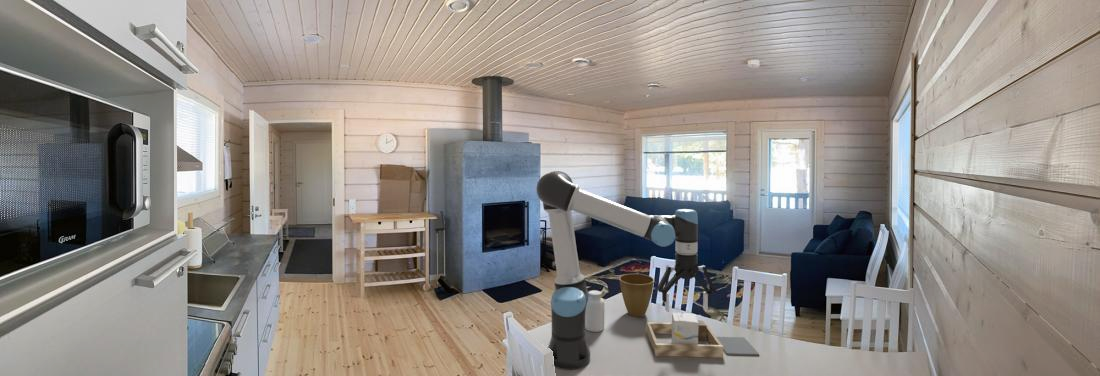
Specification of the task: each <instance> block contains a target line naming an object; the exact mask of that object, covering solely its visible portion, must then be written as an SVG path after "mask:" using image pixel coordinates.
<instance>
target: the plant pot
mask: <svg viewBox="0 0 1100 376" xmlns="http://www.w3.org/2000/svg"><path fill="white" fill-rule="evenodd" d="M654 283H655V278H653V277H652V276H650V275H647V274H643V273H627V274H626V273H625V274H622V275H620V276H619V285H620V291H621V296H622V299H623V302H624V306H625V308H626V309H625V310H626V311H627V314H628V315H629V316H632V317H634V318H640V317H641V318H642V317H644V316H645V315H646V313H647V310H648V307H649V304H650V301H651V298H652V294H653V289H654Z"/></svg>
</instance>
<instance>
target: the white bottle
mask: <svg viewBox="0 0 1100 376" xmlns="http://www.w3.org/2000/svg"><path fill="white" fill-rule="evenodd" d="M588 293H589V298H588V302H587V307H586V313H585V331H588V332H592V333H593V332H594V333H598V332H602V331H603V330H605V300H604V299H603V298H602V295H603V294H602V291H599V290H594V289H593V290H588Z"/></svg>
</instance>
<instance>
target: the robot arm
mask: <svg viewBox="0 0 1100 376" xmlns="http://www.w3.org/2000/svg"><path fill="white" fill-rule="evenodd" d="M535 190H536V195H537V197H538V198H539V200H540V201H541V203H542V205H543V210H544V211H545V212H546V213H548V219H549V227H550V232H551V233H550V234H551V240H552V248H553V253H554V260H555V267H556V268H555V269H556V277H555V278H554V282H553V283H554V288H555V291H553V293H552V295H551V299H550V307H551V338H550V341H549V342H548V343H549V344H548V347H547V349H548V348H550V349H551V350H552V351H553V356H554V365H555V366H554V367H555V368H559V369H563V370H576V369H581V368H583V367H585V366H587V365H588V364H589V363H590V362H591V351H590V347H589V344H588V342H587V338H586V329H585V313H586V307H587V302H588V298H589V293H588V292H589V290H588V287H587V283H586V277H585V275H584V274H583V273H581V271H580V264H579V263H580V261H579V256H578V251H577V244H576V243H577V242H576V235H575V227H574V221H573V212H576V213H578V214H581V215H583V216H587V217H589V218H592V219H594V220H597V221H599V222H601V223H605V224H607V225H610V226H612V227H616V228H618V229H621V230H623V231H626V232H629V233H631V234H633V235H636V236H639V237H641V238H644V239H646V240H649V241H651V242H653V243H654V244H656V245H657V246H659V247H662V248H663V247H668V246H671V245H672V244H673V242H674V241H675V244H674V245H675V249H674V250H675V254H674V255H675V258H674V259H675V264H674V266H672V265H671V266H670V265H668V264H667V265H666V267H665V272H664V274H663V275H662V277H661V280H660V282H659V283H658V285H657V287H656V289H657V291H658V292H659V293H661V294H662V295H661V296H662V297H661V298H662V302H664V309H665V311H666V312H667V313H668V312H670V293H669V291H670V290H671V289H672V287H673V286H674V285H675V284H676V283H677V282H678V281H680V279H682V280H686V279H688V280H692V279H693V278H694V280H695V281H696V282H697V283H699V286H701V287H702V288H703V290H704V291H702V293H703V295H702V299H703V300H702V309H703V311H704V312H705V313H708V310H709V309H708V307H709V305H708V303H711V296H712V293H716V292H717V289H716V287H715V284H714V283H713V281H712V279H711V277H710V275H709V273H708V268H707V266H706V265H704V264H702V265H699V264H698V260H699V259H698V250H699V249H698V247H699V245H698V244H699V243H698V239H699V238H698V234H699V225H698V224H699V222H698V221H699V218H698V212H697V211H696V210H695V209H689V208H688V209H687V208H682V209H681V208H679V209H676V210H675V213H674V214H673V215H660V214H659V215H656V214H655V215H652V214H650V215H649V214H646V213H644V212H641V211H638V210H636V209H633V208H631V207H627V206H626V205H622V204H619V203H617V202H614V201H612V200H609V199H607V198H604V197H601V196H599V195H596V194H593V193H591V192H588V191H586V190H583V189H581V188H580V186H579V185H578V184H576V183H574V182H573V179H572V178H571V177H570V175H569V174H567V173H566V172H563V171H560V170H556V171H555V170H554V171H550V172H548V173H545V174H543V175H542V176H541V177H540V178H539V180H538V182H537V184H536V189H535ZM572 211H573V212H572ZM698 265H699V266H698ZM673 271H675V273H674V274H673V276H672V277H671V279H670V280H669V277H670V275H671V273H673ZM699 271H700V272H701V273H702V275H703V276H704V279H705V280H706V282H707V284H708V286H709V287H707V286H706V284H705V283H704V282H703V280H702V279H700V277H699V276H698V275H697V273H698V272H699ZM668 280H669V281H668ZM667 281H668V282H667Z"/></svg>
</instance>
